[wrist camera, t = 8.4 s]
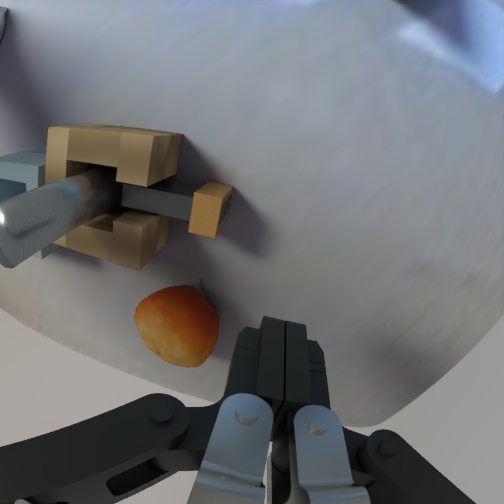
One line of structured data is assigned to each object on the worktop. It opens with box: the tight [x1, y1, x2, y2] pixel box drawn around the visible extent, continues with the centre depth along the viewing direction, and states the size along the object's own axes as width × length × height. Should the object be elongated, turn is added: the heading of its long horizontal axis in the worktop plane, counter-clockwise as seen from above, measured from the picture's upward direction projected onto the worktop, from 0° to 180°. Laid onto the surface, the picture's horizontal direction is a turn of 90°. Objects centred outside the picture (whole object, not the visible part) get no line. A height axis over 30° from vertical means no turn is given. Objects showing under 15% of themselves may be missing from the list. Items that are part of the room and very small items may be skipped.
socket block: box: [45, 124, 183, 270], centre depth 22 cm, size 10×10×6 cm
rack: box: [0, 152, 61, 259], centre depth 24 cm, size 9×9×6 cm
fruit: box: [135, 278, 220, 367], centre depth 27 cm, size 8×8×8 cm
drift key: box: [121, 179, 233, 238], centre depth 22 cm, size 3×8×5 cm, turn 77°
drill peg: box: [0, 166, 124, 268], centre depth 18 cm, size 4×4×15 cm
